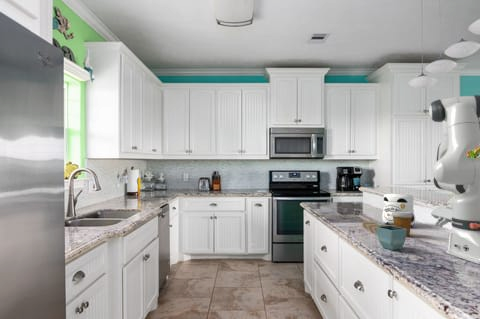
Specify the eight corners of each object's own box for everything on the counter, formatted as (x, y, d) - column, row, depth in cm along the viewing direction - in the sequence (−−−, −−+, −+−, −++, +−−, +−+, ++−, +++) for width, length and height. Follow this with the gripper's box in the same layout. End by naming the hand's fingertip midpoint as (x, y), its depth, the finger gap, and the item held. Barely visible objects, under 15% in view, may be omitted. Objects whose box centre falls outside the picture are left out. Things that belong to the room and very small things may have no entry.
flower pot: (390, 244, 140) (390, 225, 140) (407, 250, 131) (407, 228, 131) (375, 246, 136) (375, 226, 136) (392, 252, 128) (392, 230, 128)
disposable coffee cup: (417, 236, 154) (417, 212, 154) (402, 238, 151) (402, 213, 151) (401, 232, 163) (401, 210, 163) (387, 234, 160) (387, 211, 160)
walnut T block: (413, 237, 154) (413, 231, 154) (381, 237, 154) (381, 231, 154) (389, 226, 178) (389, 221, 178) (362, 226, 178) (362, 221, 178)
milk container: (384, 227, 176) (384, 196, 176) (380, 222, 193) (380, 193, 193) (418, 229, 171) (418, 197, 171) (411, 223, 188) (411, 193, 188)
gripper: (438, 199, 168) (421, 217, 168) (466, 204, 147) (446, 225, 147) (447, 207, 168) (429, 225, 168) (476, 214, 147) (456, 234, 147)
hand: (437, 225), depth 157 cm, fingers closed
